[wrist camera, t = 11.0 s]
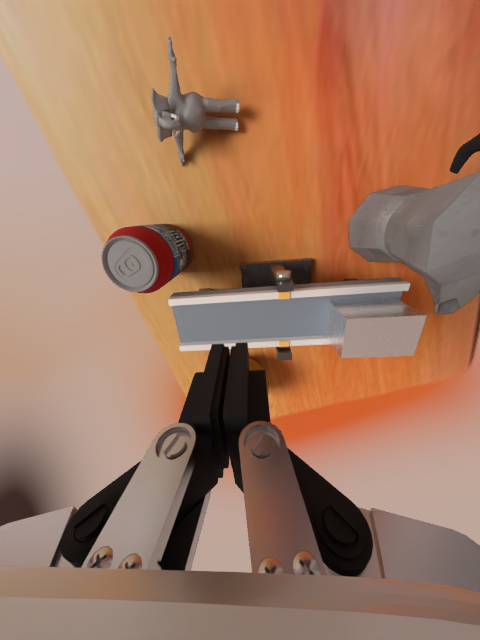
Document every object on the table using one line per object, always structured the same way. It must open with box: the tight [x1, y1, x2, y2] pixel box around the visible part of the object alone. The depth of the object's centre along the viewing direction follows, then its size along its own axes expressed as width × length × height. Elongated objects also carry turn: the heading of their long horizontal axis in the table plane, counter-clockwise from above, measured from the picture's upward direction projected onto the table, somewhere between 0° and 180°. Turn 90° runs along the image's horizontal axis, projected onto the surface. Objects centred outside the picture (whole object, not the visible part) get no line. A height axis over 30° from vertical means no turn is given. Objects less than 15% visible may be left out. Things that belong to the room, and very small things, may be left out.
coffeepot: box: [349, 134, 480, 314], centre depth 20 cm, size 15×9×18 cm, turn 170°
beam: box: [168, 278, 411, 351], centre depth 26 cm, size 7×26×2 cm, turn 95°
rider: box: [325, 296, 427, 358], centre depth 23 cm, size 4×7×5 cm, turn 94°
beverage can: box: [102, 224, 193, 293], centre depth 26 cm, size 7×7×12 cm
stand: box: [199, 258, 357, 361], centre depth 29 cm, size 11×24×11 cm, turn 95°
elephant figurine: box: [151, 37, 240, 166], centre depth 23 cm, size 10×6×9 cm
